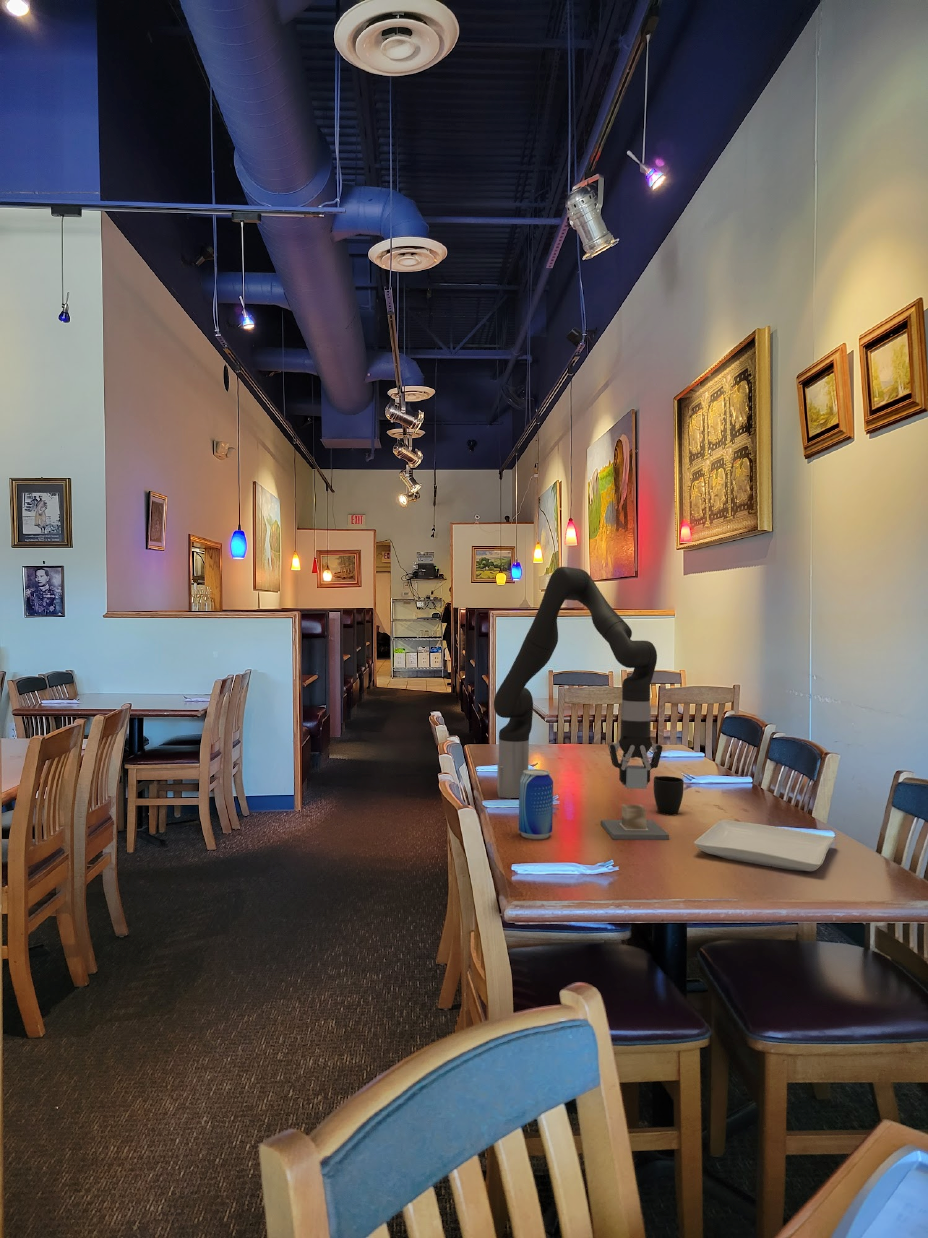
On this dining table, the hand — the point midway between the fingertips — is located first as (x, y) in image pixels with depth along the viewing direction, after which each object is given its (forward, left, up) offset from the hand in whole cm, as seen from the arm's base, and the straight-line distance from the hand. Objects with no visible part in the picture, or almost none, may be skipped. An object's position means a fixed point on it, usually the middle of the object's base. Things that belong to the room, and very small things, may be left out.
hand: (634, 783), depth 198 cm
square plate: (+27, -17, -13) cm, 34 cm away
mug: (+15, +22, -13) cm, 29 cm away
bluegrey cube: (0, 0, -1) cm, 1 cm away
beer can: (-26, -4, -12) cm, 29 cm away
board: (0, 0, -12) cm, 12 cm away
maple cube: (0, 0, -11) cm, 11 cm away
